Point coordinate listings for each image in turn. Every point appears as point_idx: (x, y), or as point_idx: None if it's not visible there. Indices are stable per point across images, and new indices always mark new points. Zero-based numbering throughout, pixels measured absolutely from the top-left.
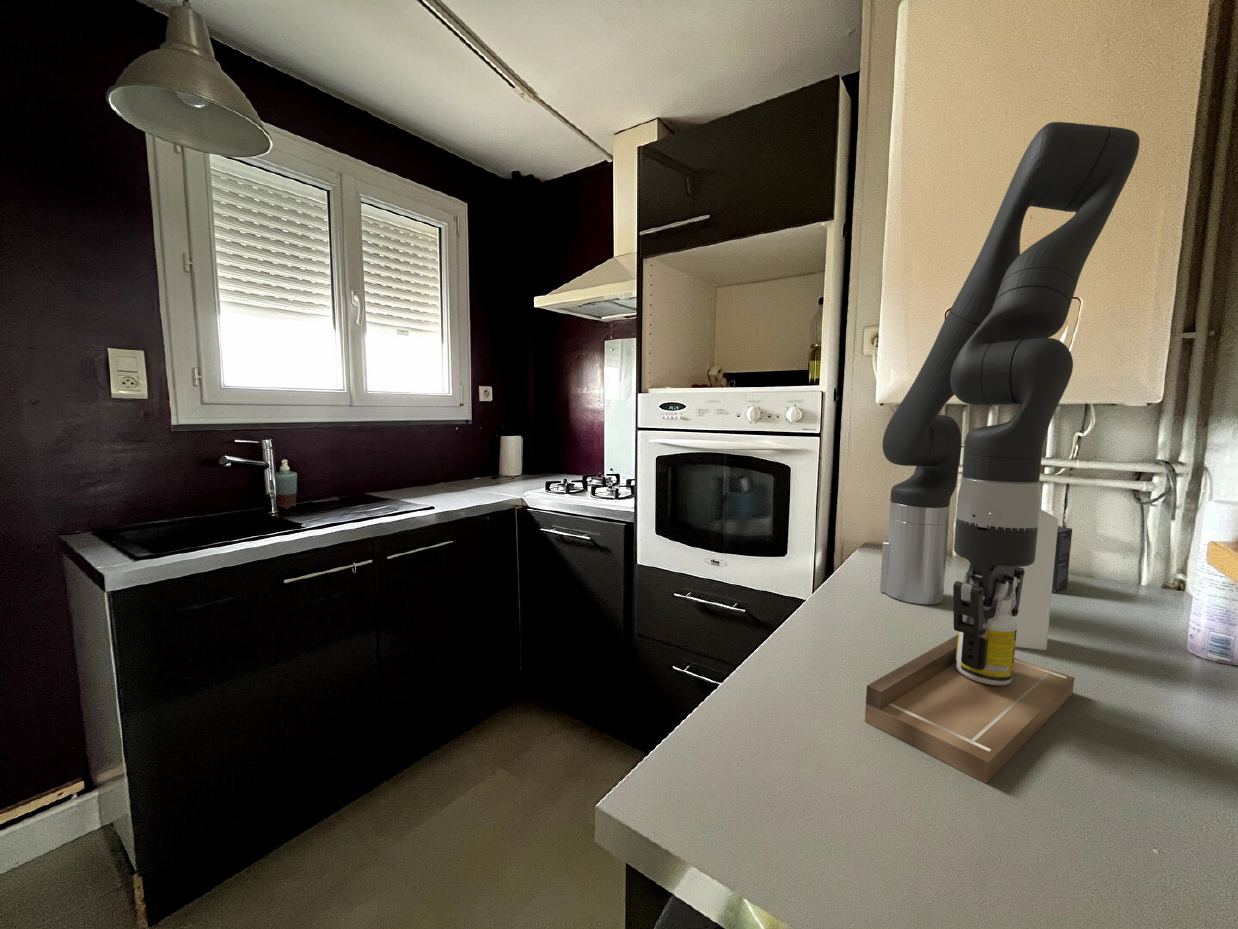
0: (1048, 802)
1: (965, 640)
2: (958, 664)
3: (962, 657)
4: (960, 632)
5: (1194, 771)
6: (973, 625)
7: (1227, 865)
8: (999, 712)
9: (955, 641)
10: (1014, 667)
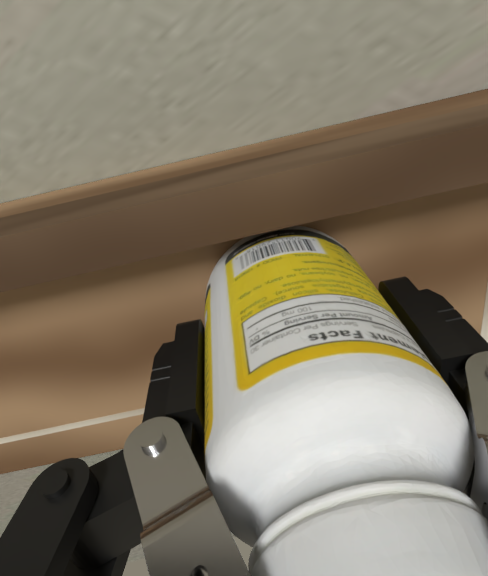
0: (28, 486)
1: (144, 416)
2: (216, 273)
3: (177, 334)
4: (228, 347)
5: None
6: (80, 565)
7: (141, 558)
8: (122, 410)
9: (372, 178)
10: (439, 289)
